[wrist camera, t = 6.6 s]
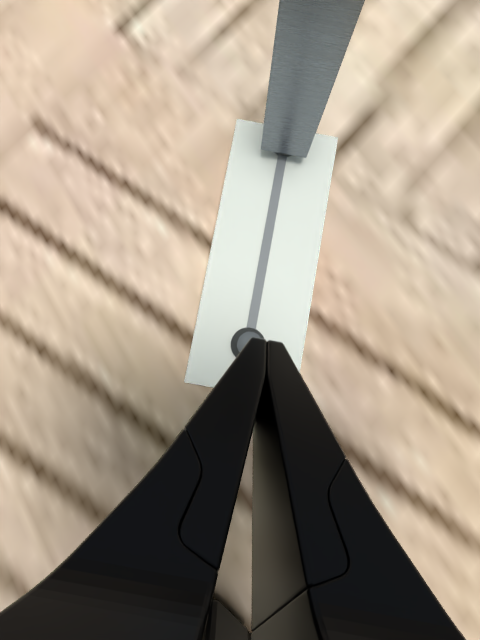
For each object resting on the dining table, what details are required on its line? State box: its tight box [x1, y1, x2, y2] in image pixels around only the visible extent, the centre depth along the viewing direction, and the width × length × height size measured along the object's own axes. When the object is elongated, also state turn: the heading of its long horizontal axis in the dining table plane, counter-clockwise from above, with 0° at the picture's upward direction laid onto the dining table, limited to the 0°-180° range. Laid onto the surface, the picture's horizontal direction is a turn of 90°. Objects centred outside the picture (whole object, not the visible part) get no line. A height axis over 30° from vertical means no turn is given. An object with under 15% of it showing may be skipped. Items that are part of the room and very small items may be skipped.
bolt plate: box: [184, 119, 338, 388], centre depth 19 cm, size 18×7×4 cm, turn 169°
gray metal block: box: [261, 0, 365, 158], centre depth 15 cm, size 3×3×11 cm
